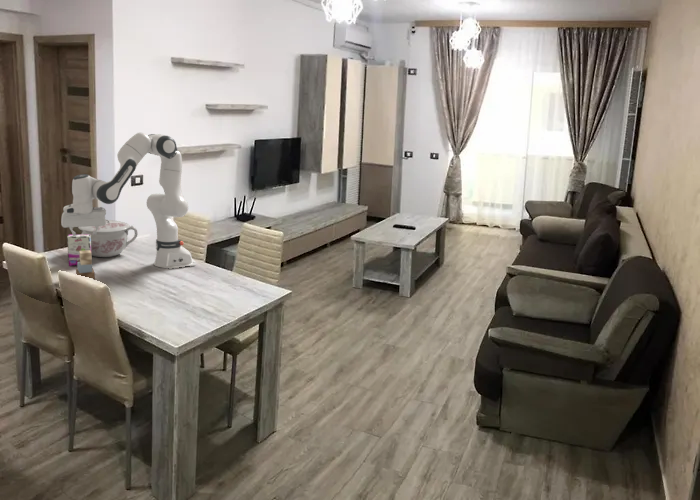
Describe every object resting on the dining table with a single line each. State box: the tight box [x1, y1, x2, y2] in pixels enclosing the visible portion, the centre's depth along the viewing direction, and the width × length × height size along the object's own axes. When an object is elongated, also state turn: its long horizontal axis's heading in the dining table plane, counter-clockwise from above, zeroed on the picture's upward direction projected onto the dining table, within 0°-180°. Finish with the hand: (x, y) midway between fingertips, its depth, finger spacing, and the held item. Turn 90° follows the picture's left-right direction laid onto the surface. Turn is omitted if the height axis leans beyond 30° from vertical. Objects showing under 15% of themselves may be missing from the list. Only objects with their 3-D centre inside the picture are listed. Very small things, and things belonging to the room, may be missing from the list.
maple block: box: [79, 250, 93, 265], centre depth 305 cm, size 5×5×6 cm
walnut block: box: [75, 267, 96, 280], centre depth 308 cm, size 8×8×4 cm
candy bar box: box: [66, 234, 92, 267], centre depth 325 cm, size 11×5×16 cm, turn 105°
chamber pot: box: [77, 218, 138, 258], centre depth 346 cm, size 28×28×21 cm
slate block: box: [77, 262, 93, 273], centre depth 307 cm, size 6×6×4 cm
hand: (84, 235), depth 302 cm, fingers open, 8 cm apart
